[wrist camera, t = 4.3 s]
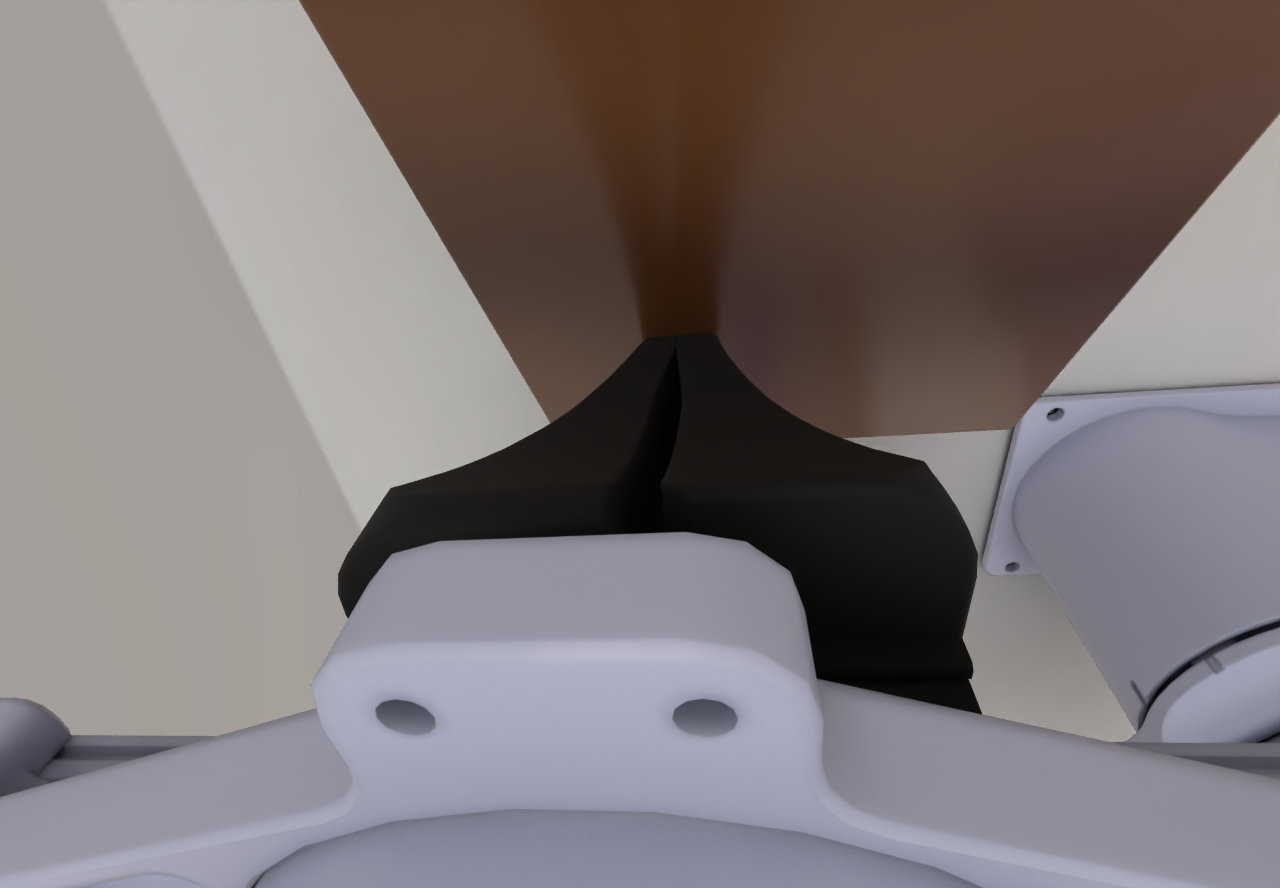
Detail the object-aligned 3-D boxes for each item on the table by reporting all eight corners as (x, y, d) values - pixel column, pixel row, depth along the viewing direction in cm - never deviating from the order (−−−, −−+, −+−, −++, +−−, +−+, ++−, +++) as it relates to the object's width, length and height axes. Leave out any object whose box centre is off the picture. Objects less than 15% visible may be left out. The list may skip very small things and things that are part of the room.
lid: (213, -222, 5) (185, -183, 5) (1739, -550, 4) (1827, -522, 4) (568, 429, 16) (567, 453, 16) (1005, 403, 15) (1012, 430, 15)
